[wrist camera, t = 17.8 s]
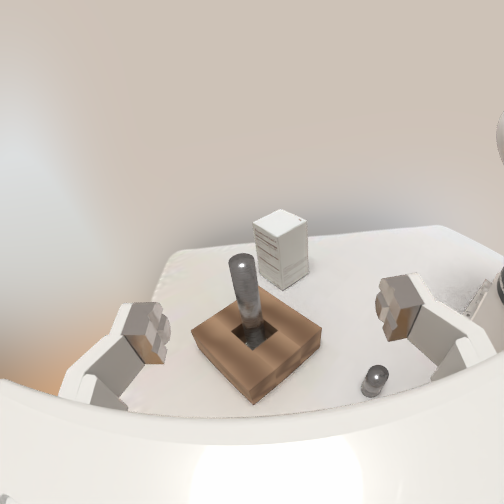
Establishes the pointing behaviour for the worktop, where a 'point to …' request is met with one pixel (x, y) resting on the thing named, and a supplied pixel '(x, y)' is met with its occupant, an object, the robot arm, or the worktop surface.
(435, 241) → the worktop surface
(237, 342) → the collar block
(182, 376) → the worktop surface
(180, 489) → the robot arm
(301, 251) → the supplement box
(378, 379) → the short pin
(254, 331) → the long pin
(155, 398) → the worktop surface
